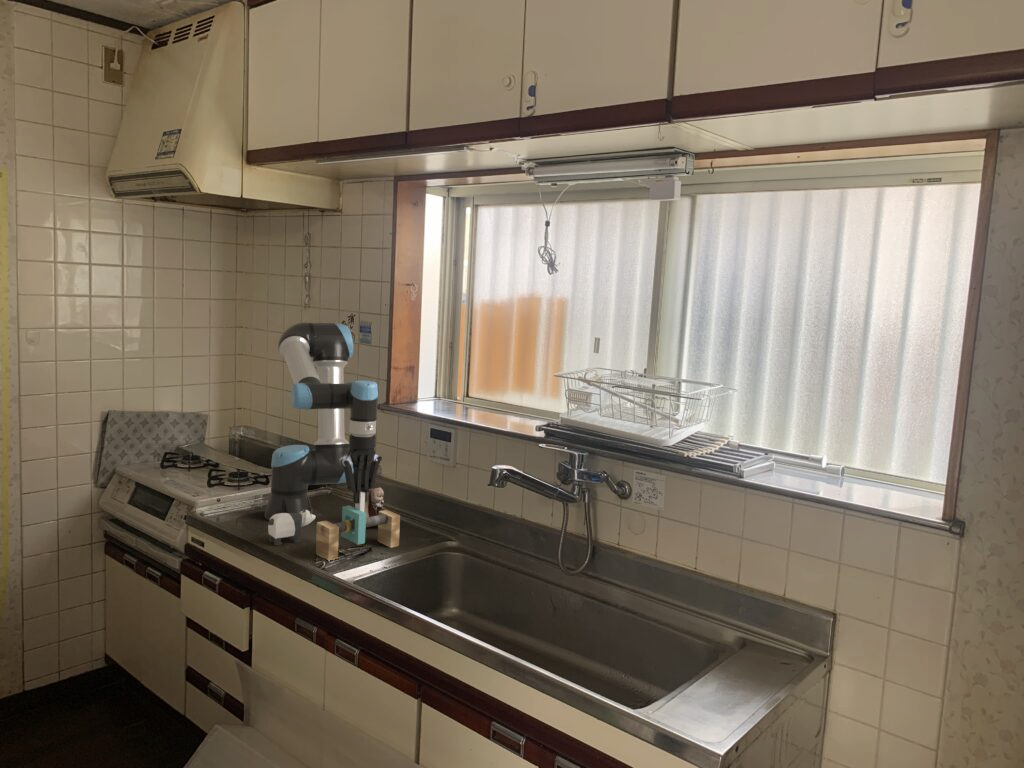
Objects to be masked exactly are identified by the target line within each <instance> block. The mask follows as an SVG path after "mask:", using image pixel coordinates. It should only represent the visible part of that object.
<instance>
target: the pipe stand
mask: <svg viewBox="0 0 1024 768" xmlns="http://www.w3.org/2000/svg"><path fill="white" fill-rule="evenodd" d="M400 523H401V514H398V513H396V512H394V511H392V510H391V511H390V510H389V509H387V510H383V511H379V515H378V516H372V517H367V518H366V528H370V527H375V526H377V542H378V543H380V544H382V545H385V546H386V547H388V548H396V547H399V546H400V533H401V532H400V529H401V528H400V527H401V526H400V525H401V524H400ZM350 530H353V531H354V530H355V519H353V520H350V521H349V520H344V521H342V520H341V521H340V522H335V523H333V522H330V521H328V520H321V521H317V522H316V535H315V536H316V539H315V541H316V542H315V555H316V554H317V555H316V556H318V555H319V556H318V557H320V558H322V557H323V558H326V559H327V560H328V561H327V560H326V561H327V562H331V561H330V560H333V561H336V560H335V559H337V560H339V552H338V551H342V550H344V549H345V548H341V549H339V537H340V533H341V532H344V533H346V532H350ZM323 558H322V559H323Z"/></svg>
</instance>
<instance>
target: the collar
mask: <svg viewBox="0 0 1024 768" xmlns="http://www.w3.org/2000/svg"><path fill="white" fill-rule="evenodd" d="M344 520H349V521H350V520H355V530H350V532H346V533H344V532H340V534H341V535H340V536H341V537H342V538H344V539H346V540H348V541H350V542H352V543H353V544H355V545H358V546H359V545H363V544H366V528H367V527H366V513H365V512H363V511H360V510H358V509H356V508H355V506H351V505H345V506H344V505H343V506H342V509H341V522H342V521H344Z"/></svg>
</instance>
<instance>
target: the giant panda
mask: <svg viewBox="0 0 1024 768" xmlns="http://www.w3.org/2000/svg"><path fill="white" fill-rule="evenodd" d="M316 517H317V516H316V514H313V513H312V514H311V513H310V512H309V511H308V510H306V509H304V510H303V508H301V512H300V513H279V514H275V515H273V516H272V517H271V518H270V520H268V527H267V531H268V538H269V543H271V542H273V545H274V546H275V545H278V546H282V545H281V544H283V542H282V541H281V539H282V538H288V540H292V542H293V543H295V542H296V543H302V541H303V540H302V539H301V532H302V527H304V526H308V525H309V524H310V523H312V522H313V521H314V520H315V519H316Z"/></svg>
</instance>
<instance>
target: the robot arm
mask: <svg viewBox="0 0 1024 768" xmlns="http://www.w3.org/2000/svg"><path fill="white" fill-rule="evenodd" d="M277 348H278V353H279V355H280V357H281V358H282V360H283V361H285V362H286V365H287V368H288V371H289V373H290V374H289V375H290V377H291V379H292V381H293V384H292V386H291V390H290V401H291V405H292V407H293V408H294V409H297V410H318V411H317V415H318V416H317V417H318V423H317V424H318V426H317V427H318V434H317V435H318V438H317V440H316V441H315V442H314V443H313V449H310V447H309V446H308V445H306V444H292V445H285V446H281V447H279V448H277V449H275V450H274V451H273V453H272V455H271V456H272V457H271V463H270V464H271V465H270V466H271V472H270V473H271V475H270V476H271V477H270V479H271V480H270V496H269V498H268V500H267V504H266V506H265V509H264V519H265V520H267V521H269V520H270V518H271V517H272V516H273V515H275V514H279V513H300V512H301V508H303V510H304V509H306V510H308V511H309V512H310V513H311V514H313V507H312V504H311V500H310V498H309V493H308V489H309V485H311V486H313V485H314V486H315V485H331V484H332V485H333V484H334V485H338V484H346V489H347V490H348V491H350V492H352V493H353V497H352V498H353V499H352V500H353V501H352V502H353V503H354V504H355V505H354V508H356V509H358V510H360V511H363V512H364V508H365V502H366V501H367V492H369V491H370V490H369V489H371V490H373V489H374V486H375V482H376V478H377V474H378V470H379V466H380V464H381V462H382V460H383V457H382V456H381V455H378V454H376V450H375V448H376V442H377V441H376V440H377V439H376V438H377V437H376V435H375V434H377V433H376V432H377V412H378V411H377V410H378V396H379V392H378V391H379V390H378V389H379V388H378V384H377V382H376V381H371V380H363V379H362V380H354V381H348V382H345V383H344V381H345V380H344V379H345V377H344V375H345V374H344V369H345V367H346V366H347V365H348V363H349V359H351V358H352V357H353V354H354V340H353V335H352V332H351V330H350V328H349V327H348V326H347V325H346V324H342V323H335V322H332V323H329V322H327V323H326V322H298V323H295V324H293V325H291V326H289V327H288V328H286V329H285V330H284V332H282V334H281V335H280V337H279V339H278V343H277ZM315 367H316V368H317V370H316V368H315ZM345 409H347V410H348V409H349V410H350V411H349V412H350V413H349V415H350V416H349V431H348V432H349V433H350V435H349V437H348V438H349V439H348V440H347V439H346V438H345V433H346V432H345V431H346V430H345Z"/></svg>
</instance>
